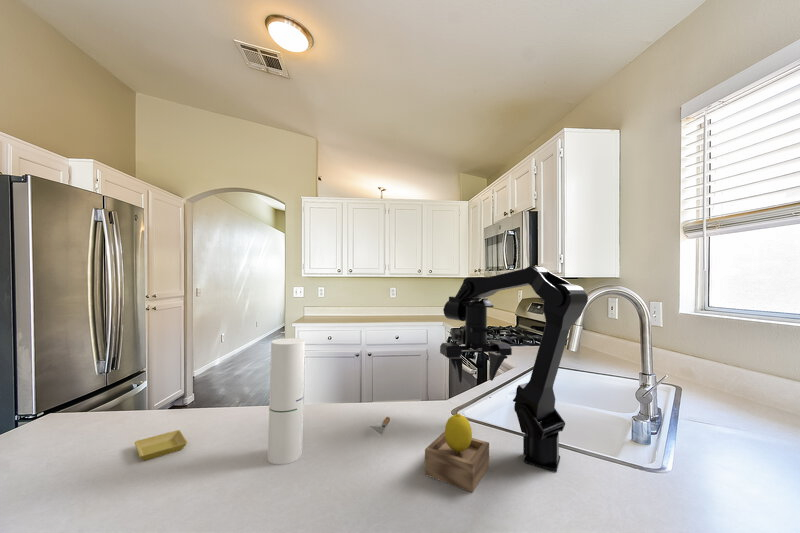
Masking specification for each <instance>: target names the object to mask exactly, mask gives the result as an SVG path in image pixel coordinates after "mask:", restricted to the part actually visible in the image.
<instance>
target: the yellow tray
mask: <svg viewBox="0 0 800 533" xmlns="http://www.w3.org/2000/svg"><path fill="white" fill-rule="evenodd" d="M187 444H188V441H187V439H186V437H185V436H184V435H183V433H182V432H181V430H180V429H179V430H174V431H170V432H166V433H161V434H158V435H154V436H150V437H146V438H143V439H142V438H141V439H139V440H135V441H134V445H135V447H136V450H137V454H138V456H139V458H140V459H141V460H142V461H149V460H152V459H153V460H154V459H156V458H159V457H163V456H167V455H169V454H174V453H176V452H179V451H182V449H184V448H185V447H186V446H187Z"/></svg>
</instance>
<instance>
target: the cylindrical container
mask: <svg viewBox="0 0 800 533" xmlns="http://www.w3.org/2000/svg"><path fill="white" fill-rule="evenodd" d="M305 350H306V340H305V339H304V338H278V339H274V340H272V341H271V343H270V366H269V367H270V370H269V371H270V373H269V374H270V378H269V403H268V404H269V406H268V407H269V408H268V434H267V436H268V437H267V439H268V440H267V461H268V462H269V463H270V464H272V465H287V464H290V463H293V462H296V461H297V460H298V459H300V458H301V456H302V455H303V432H304V431H303V430H304V429H303V427H304V425H303V424H304V421H303V420H304V393H305V392H304V389H305V388H304V386H305V358H306V357H305V354H306V353H305V352H306V351H305Z"/></svg>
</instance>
